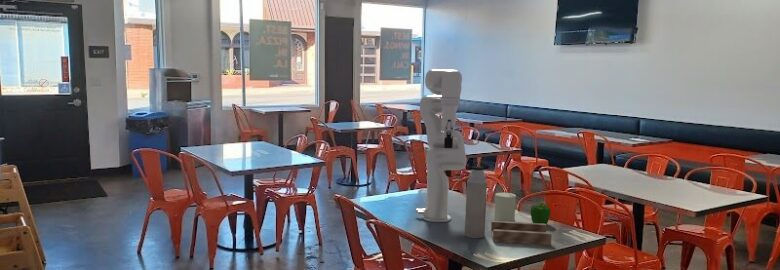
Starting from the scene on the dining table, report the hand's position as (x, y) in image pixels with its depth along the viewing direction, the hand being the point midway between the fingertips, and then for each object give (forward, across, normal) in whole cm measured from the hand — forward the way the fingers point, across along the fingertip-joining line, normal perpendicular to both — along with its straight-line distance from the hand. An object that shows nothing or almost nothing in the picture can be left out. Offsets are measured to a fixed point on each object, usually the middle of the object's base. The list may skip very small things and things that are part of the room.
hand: (448, 146), depth 236 cm
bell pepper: (+36, -24, +41) cm, 60 cm away
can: (+36, -27, +26) cm, 52 cm away
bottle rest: (+36, 0, +30) cm, 47 cm away
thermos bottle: (+36, 0, +12) cm, 38 cm away
